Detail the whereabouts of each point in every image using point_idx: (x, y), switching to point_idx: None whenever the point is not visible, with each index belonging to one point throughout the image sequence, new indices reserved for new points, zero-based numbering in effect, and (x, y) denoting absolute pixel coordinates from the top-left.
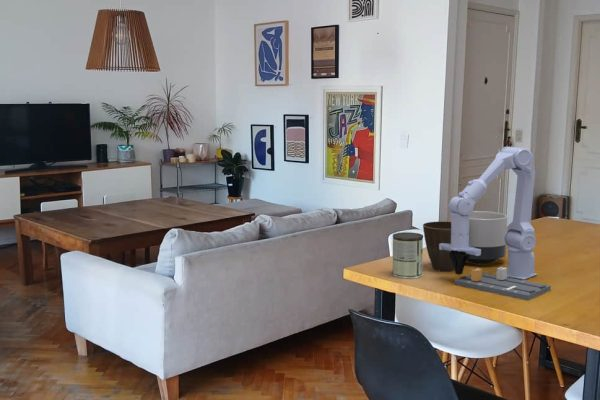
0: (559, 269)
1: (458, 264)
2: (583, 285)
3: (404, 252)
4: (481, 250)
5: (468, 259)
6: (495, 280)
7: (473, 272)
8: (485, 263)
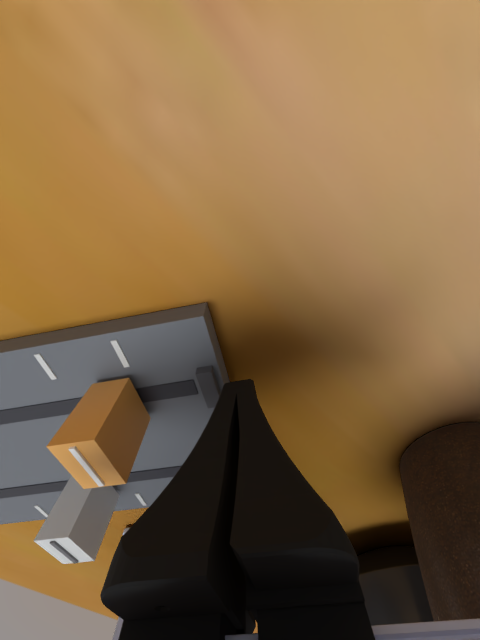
0: None
1: (210, 444)
2: (15, 571)
3: None
4: None
5: (405, 558)
6: None
7: (87, 425)
8: None
